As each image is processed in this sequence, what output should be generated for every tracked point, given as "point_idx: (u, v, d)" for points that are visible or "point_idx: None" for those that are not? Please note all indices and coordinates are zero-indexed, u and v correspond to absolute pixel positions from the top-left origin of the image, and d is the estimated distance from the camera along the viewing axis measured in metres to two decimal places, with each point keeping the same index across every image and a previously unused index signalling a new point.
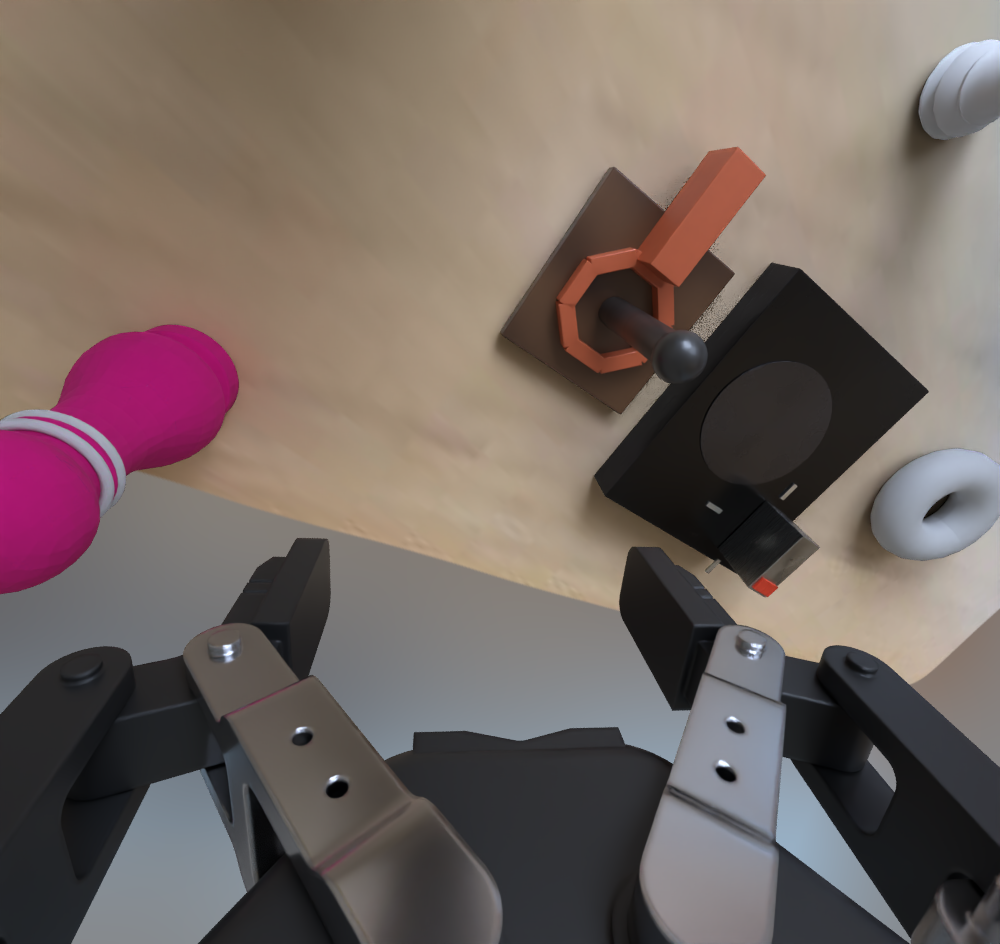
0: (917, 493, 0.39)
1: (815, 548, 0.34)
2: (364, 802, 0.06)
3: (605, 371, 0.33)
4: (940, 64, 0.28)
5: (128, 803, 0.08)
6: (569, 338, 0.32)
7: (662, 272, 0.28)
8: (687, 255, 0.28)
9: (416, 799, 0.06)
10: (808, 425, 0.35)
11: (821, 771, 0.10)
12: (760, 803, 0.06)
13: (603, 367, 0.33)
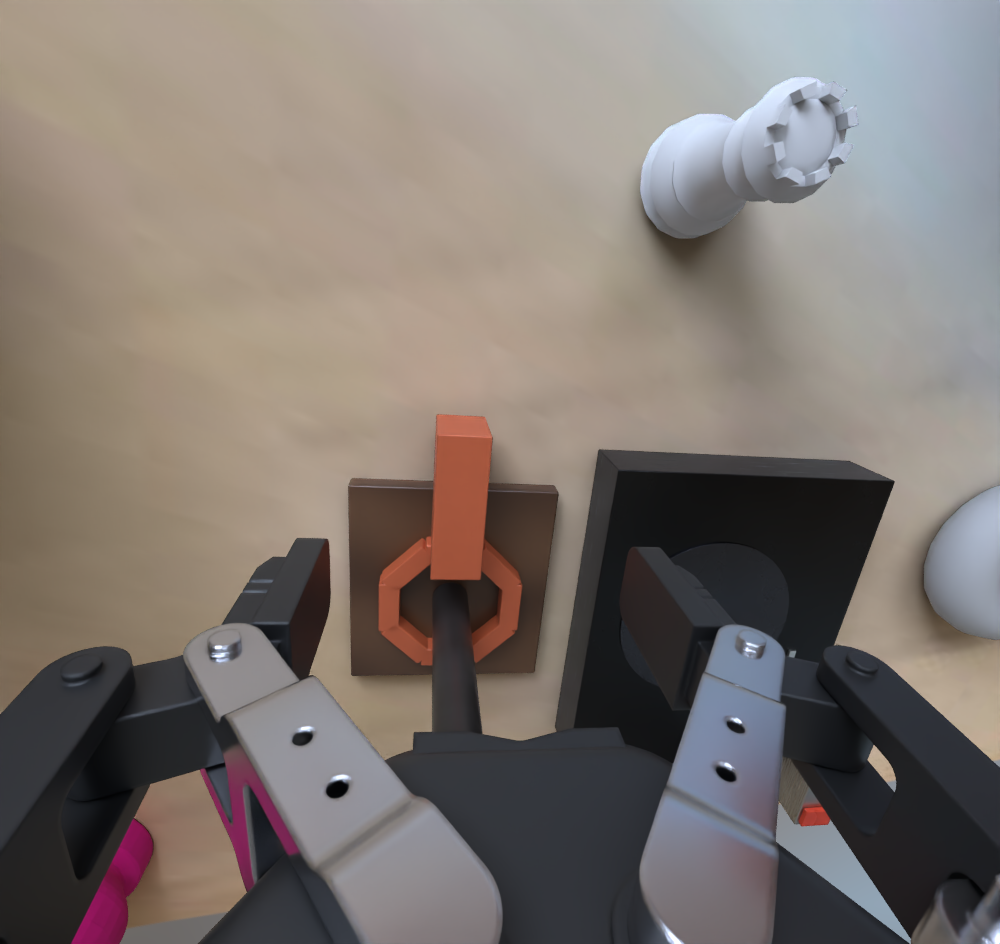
0: (970, 576, 0.28)
1: None
2: (364, 802, 0.06)
3: (479, 659, 0.27)
4: (644, 173, 0.21)
5: (128, 803, 0.08)
6: (416, 654, 0.26)
7: (450, 578, 0.23)
8: (465, 550, 0.22)
9: (416, 799, 0.06)
10: (758, 593, 0.26)
11: (822, 771, 0.10)
12: (761, 802, 0.06)
13: (474, 657, 0.27)
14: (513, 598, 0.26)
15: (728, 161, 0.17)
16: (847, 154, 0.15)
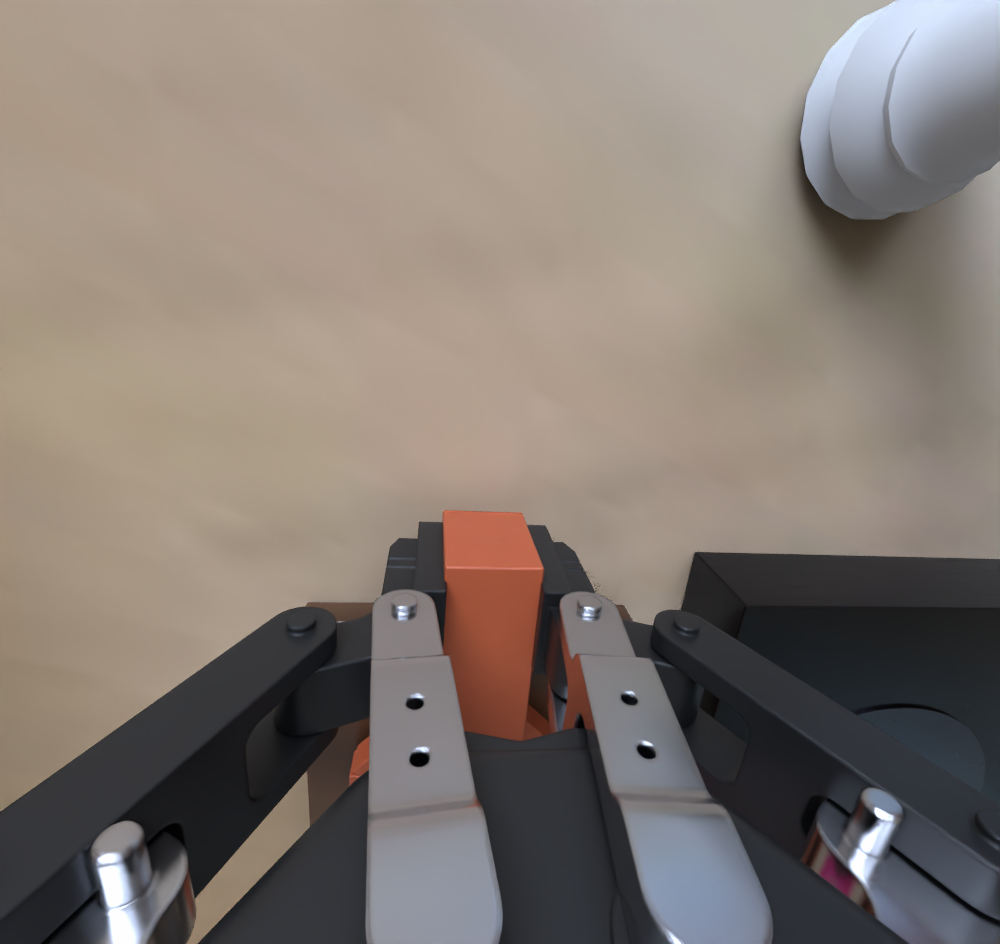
0: None
1: None
2: (434, 781, 0.06)
3: None
4: (811, 103, 0.12)
5: (309, 750, 0.09)
6: None
7: None
8: None
9: (475, 802, 0.06)
10: None
11: None
12: (683, 766, 0.07)
13: None
14: None
15: None
16: None
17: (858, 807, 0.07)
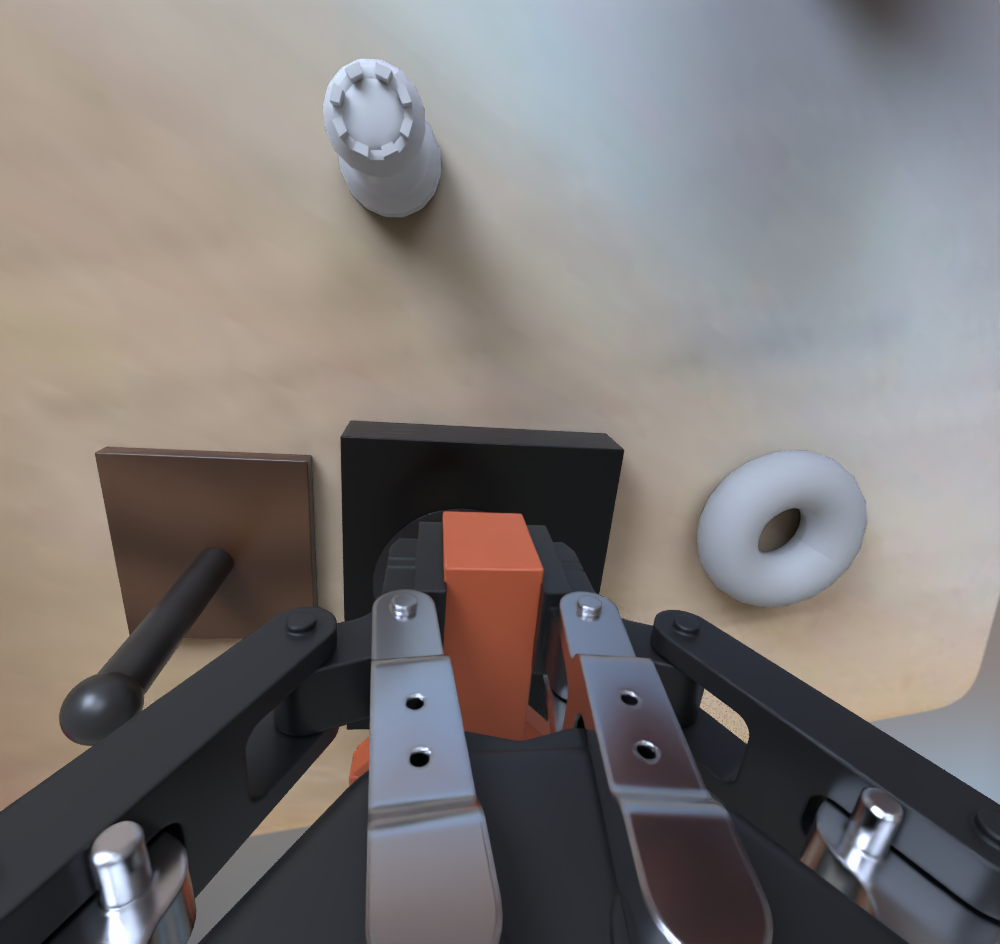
0: (722, 543, 0.29)
1: None
2: (434, 781, 0.06)
3: None
4: None
5: (309, 750, 0.09)
6: None
7: None
8: None
9: (474, 802, 0.06)
10: None
11: None
12: (682, 766, 0.07)
13: None
14: None
15: None
16: (410, 129, 0.16)
17: (858, 807, 0.07)
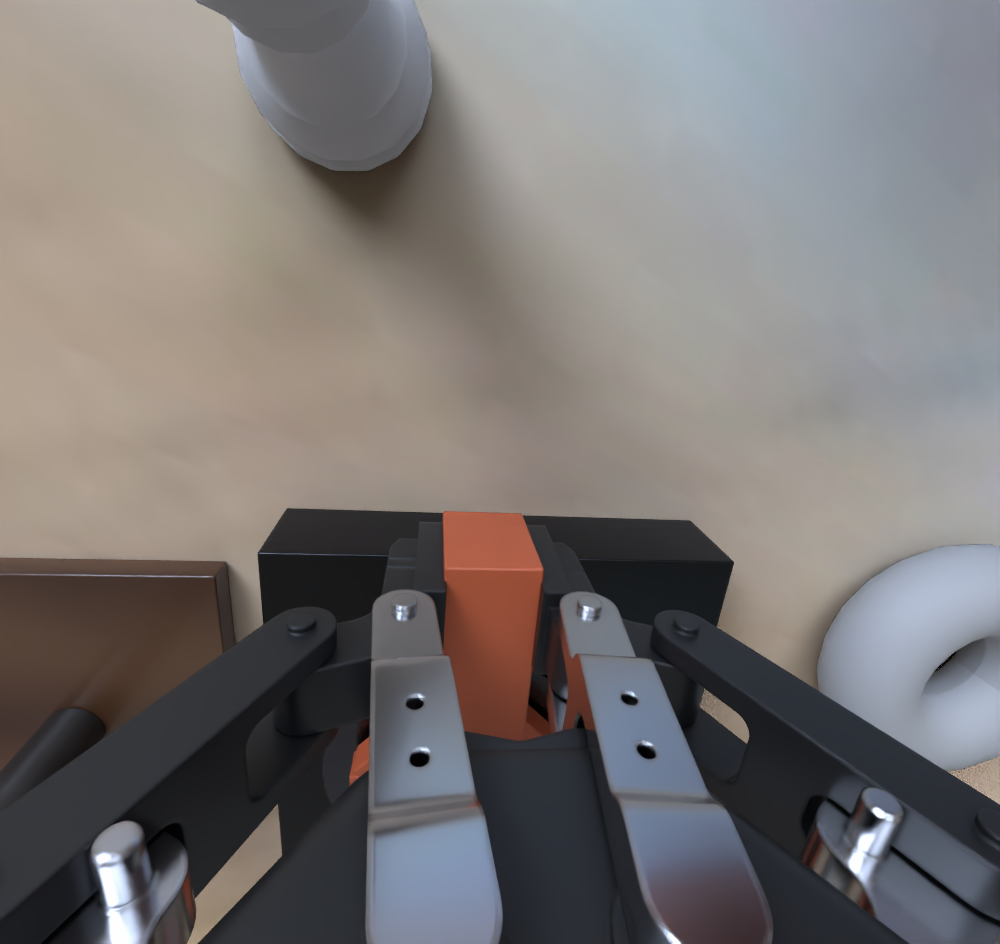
0: (872, 692, 0.19)
1: None
2: (434, 781, 0.06)
3: None
4: None
5: (309, 750, 0.09)
6: None
7: None
8: None
9: (475, 802, 0.06)
10: None
11: None
12: (682, 766, 0.07)
13: None
14: None
15: None
16: None
17: (858, 807, 0.07)
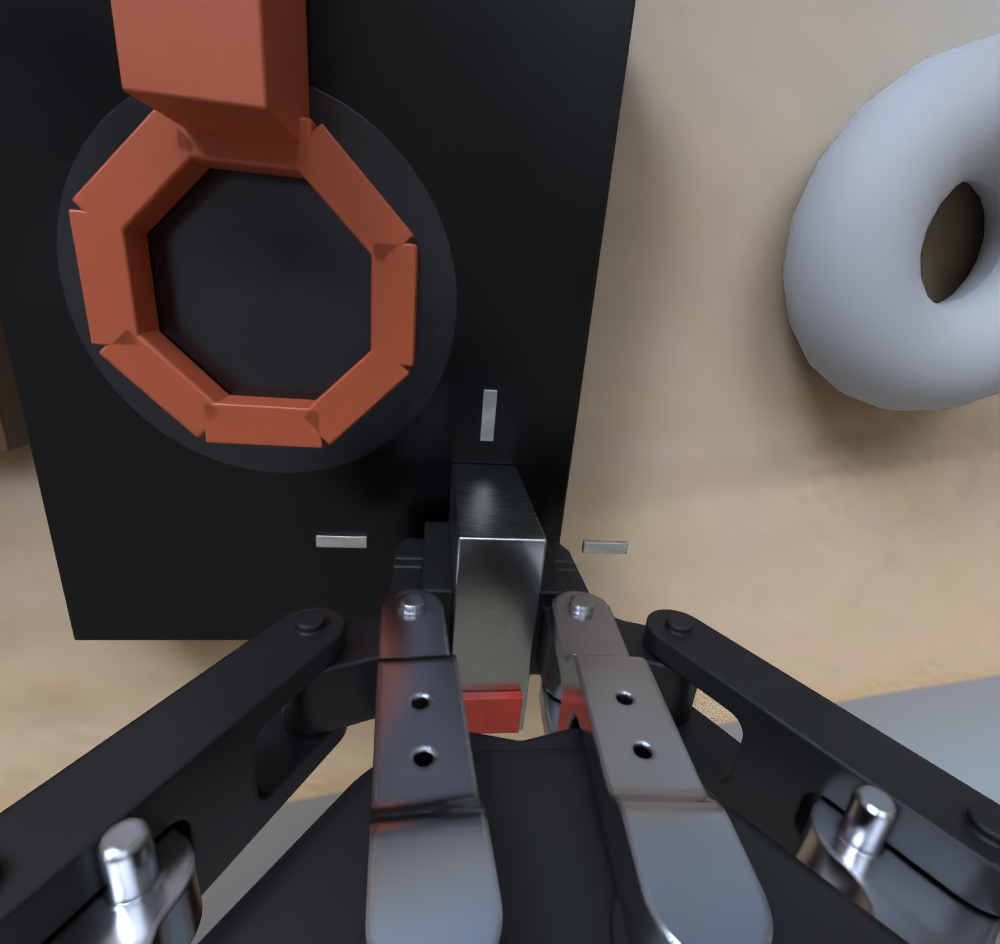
0: (853, 234, 0.14)
1: (534, 549, 0.10)
2: (437, 781, 0.06)
3: (335, 435, 0.13)
4: None
5: (316, 749, 0.09)
6: (190, 413, 0.12)
7: (178, 93, 0.08)
8: None
9: (477, 803, 0.06)
10: None
11: None
12: (679, 765, 0.07)
13: (323, 429, 0.13)
14: (398, 279, 0.12)
15: None
16: None
17: (853, 804, 0.07)
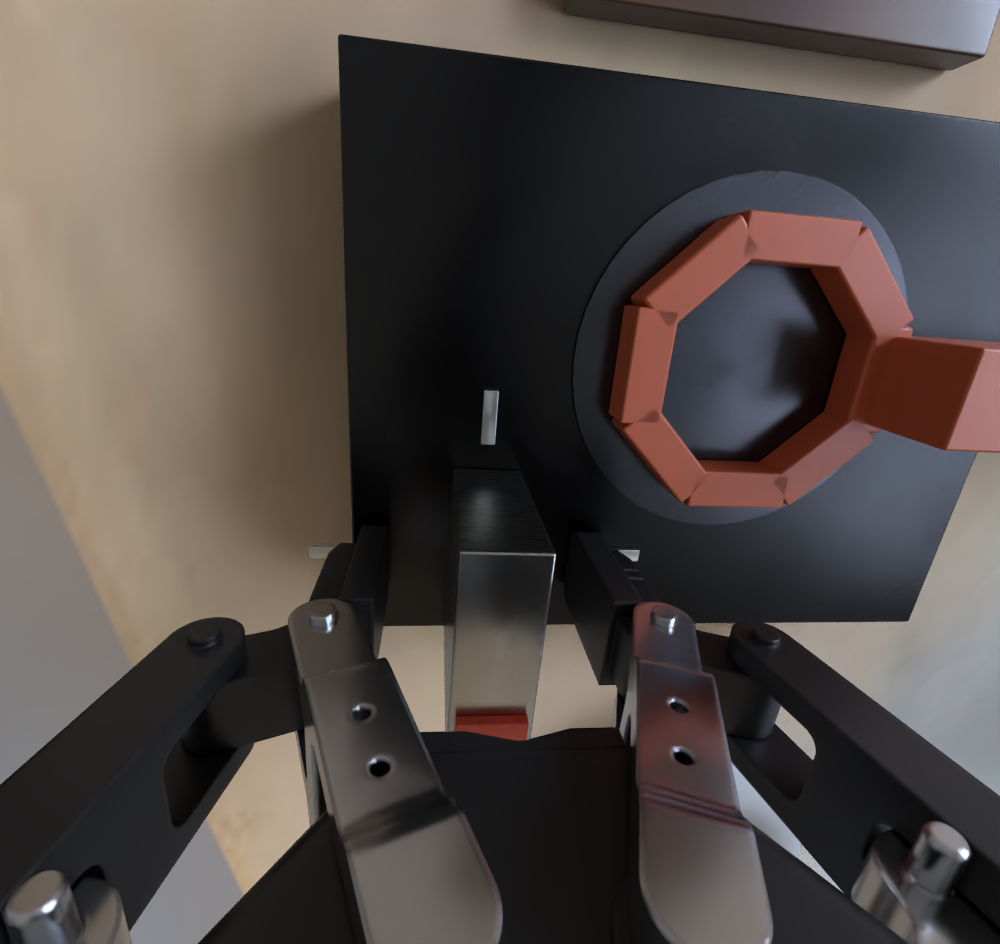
0: None
1: (542, 564, 0.10)
2: (400, 786, 0.06)
3: (633, 437, 0.13)
4: None
5: (227, 765, 0.09)
6: (671, 297, 0.12)
7: (970, 390, 0.11)
8: None
9: (447, 796, 0.06)
10: None
11: (740, 744, 0.10)
12: (719, 779, 0.06)
13: (639, 425, 0.13)
14: (759, 495, 0.14)
15: None
16: None
17: (920, 839, 0.07)
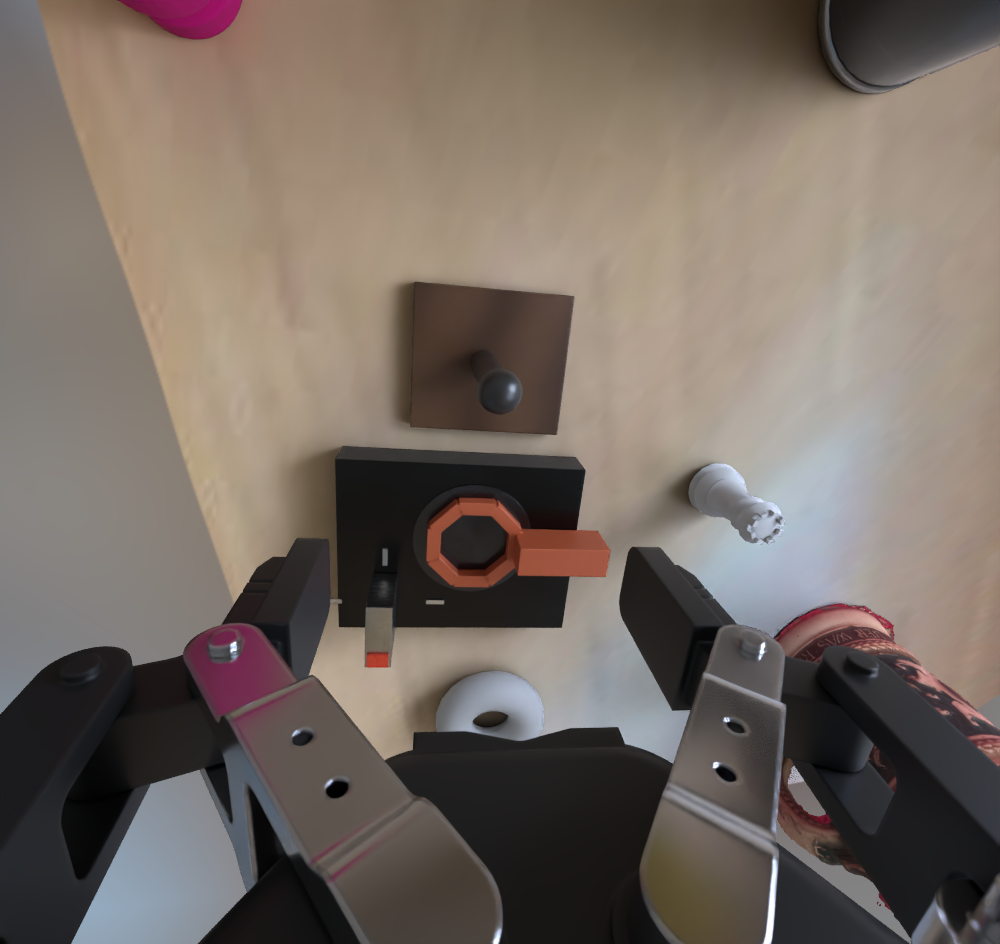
0: (492, 692, 0.45)
1: (388, 610, 0.35)
2: (364, 802, 0.06)
3: (430, 565, 0.38)
4: (720, 464, 0.42)
5: (128, 803, 0.08)
6: (437, 526, 0.37)
7: (520, 559, 0.37)
8: (538, 566, 0.37)
9: (416, 799, 0.06)
10: None
11: (821, 771, 0.10)
12: (760, 803, 0.06)
13: (432, 562, 0.38)
14: (479, 583, 0.39)
15: (748, 499, 0.38)
16: (758, 543, 0.36)
17: (993, 889, 0.06)
